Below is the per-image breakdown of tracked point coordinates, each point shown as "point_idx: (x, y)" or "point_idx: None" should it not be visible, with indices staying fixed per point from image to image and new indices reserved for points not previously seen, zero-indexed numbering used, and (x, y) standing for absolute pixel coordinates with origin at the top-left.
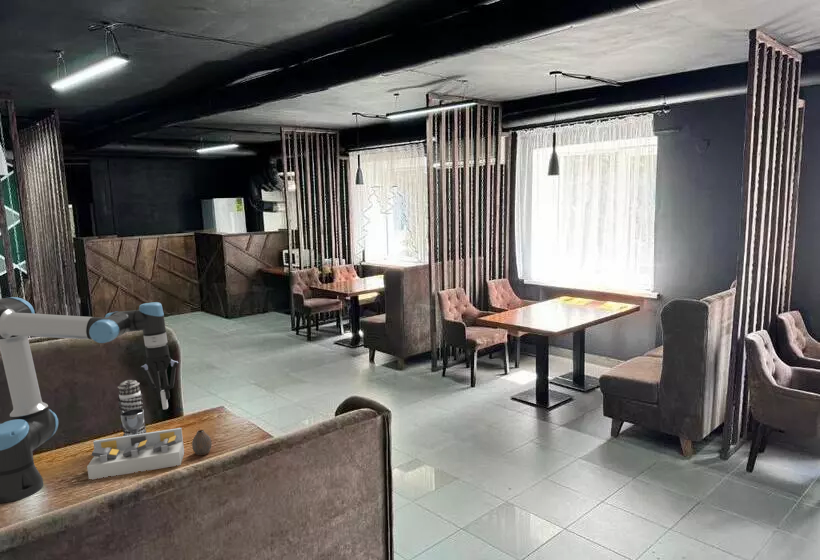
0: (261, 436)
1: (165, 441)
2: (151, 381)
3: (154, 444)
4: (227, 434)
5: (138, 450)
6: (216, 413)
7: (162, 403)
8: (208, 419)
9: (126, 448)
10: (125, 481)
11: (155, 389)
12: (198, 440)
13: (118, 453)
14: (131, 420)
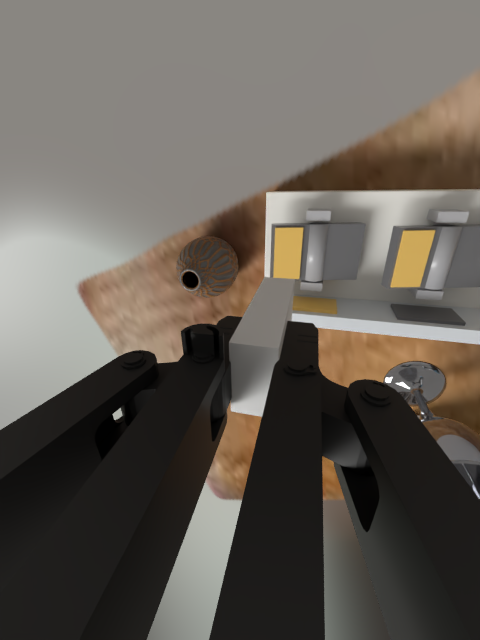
0: (91, 299)
1: (313, 249)
2: (421, 565)
3: (359, 300)
4: (174, 352)
5: (429, 225)
6: (219, 477)
7: (286, 296)
8: (232, 458)
9: (478, 285)
10: (474, 109)
11: (336, 402)
12: (204, 249)
13: None
14: (463, 443)
